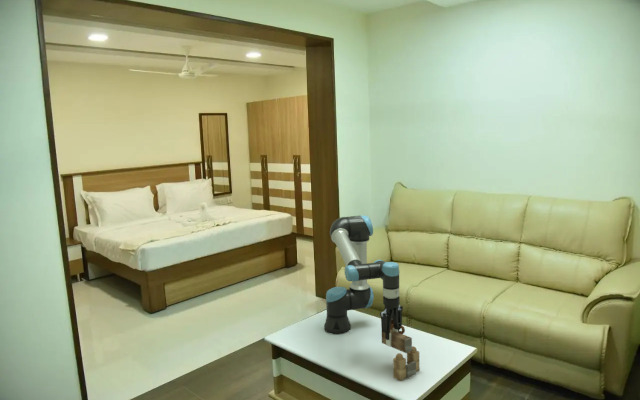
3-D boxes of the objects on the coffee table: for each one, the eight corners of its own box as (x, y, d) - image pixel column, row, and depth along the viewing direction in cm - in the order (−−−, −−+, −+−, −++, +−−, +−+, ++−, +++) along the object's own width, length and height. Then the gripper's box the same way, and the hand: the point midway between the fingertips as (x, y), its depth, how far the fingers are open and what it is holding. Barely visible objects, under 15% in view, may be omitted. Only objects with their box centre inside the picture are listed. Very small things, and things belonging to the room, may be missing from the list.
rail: (381, 342, 209) (381, 330, 209) (387, 340, 212) (387, 328, 211) (406, 353, 198) (405, 340, 197) (412, 350, 200) (411, 337, 200)
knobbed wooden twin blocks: (393, 377, 199) (392, 353, 198) (412, 366, 208) (412, 343, 206) (402, 381, 195) (401, 357, 194) (421, 371, 204) (421, 347, 202)
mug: (409, 340, 234) (408, 323, 233) (400, 345, 229) (400, 328, 228) (390, 333, 243) (390, 317, 242) (382, 338, 238) (381, 321, 237)
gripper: (384, 303, 196) (385, 352, 199) (409, 293, 206) (410, 340, 209) (372, 298, 201) (373, 347, 205) (397, 289, 212) (398, 335, 215)
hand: (392, 343), depth 207 cm, fingers closed on rail, 4 cm apart
